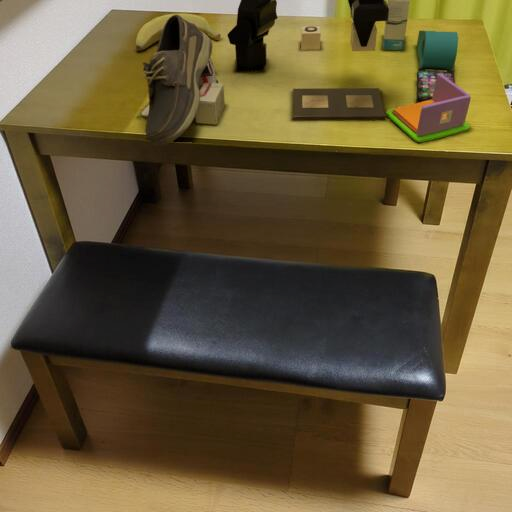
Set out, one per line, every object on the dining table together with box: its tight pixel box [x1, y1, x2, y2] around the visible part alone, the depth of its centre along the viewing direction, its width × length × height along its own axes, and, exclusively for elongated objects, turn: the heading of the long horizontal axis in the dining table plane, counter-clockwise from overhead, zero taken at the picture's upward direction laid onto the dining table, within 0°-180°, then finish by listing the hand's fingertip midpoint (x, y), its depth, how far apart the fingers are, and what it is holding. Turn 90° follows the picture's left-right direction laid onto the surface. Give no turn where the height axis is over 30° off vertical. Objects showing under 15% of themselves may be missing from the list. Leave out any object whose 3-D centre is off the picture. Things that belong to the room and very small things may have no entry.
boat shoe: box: [141, 15, 213, 147], centre depth 111 cm, size 11×29×11 cm
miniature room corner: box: [386, 74, 472, 143], centre depth 110 cm, size 12×12×7 cm
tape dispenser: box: [416, 30, 459, 70], centre depth 130 cm, size 7×15×8 cm, turn 172°
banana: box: [135, 12, 221, 52], centre depth 145 cm, size 14×6×20 cm
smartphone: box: [416, 67, 456, 103], centre depth 122 cm, size 8×1×15 cm
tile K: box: [349, 21, 378, 52], centre depth 114 cm, size 4×4×4 cm
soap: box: [141, 104, 149, 118], centre depth 121 cm, size 10×4×1 cm, turn 162°
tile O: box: [300, 25, 322, 51], centre depth 140 cm, size 4×4×4 cm
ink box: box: [382, 0, 411, 51], centre depth 137 cm, size 8×5×12 cm, turn 168°
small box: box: [194, 82, 226, 126], centre depth 116 cm, size 5×4×8 cm
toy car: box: [199, 56, 219, 91], centre depth 126 cm, size 8×18×8 cm, turn 10°
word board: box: [292, 87, 386, 121], centre depth 119 cm, size 18×12×1 cm, turn 87°
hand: (362, 41), depth 115 cm, fingers closed on tile K, 4 cm apart
